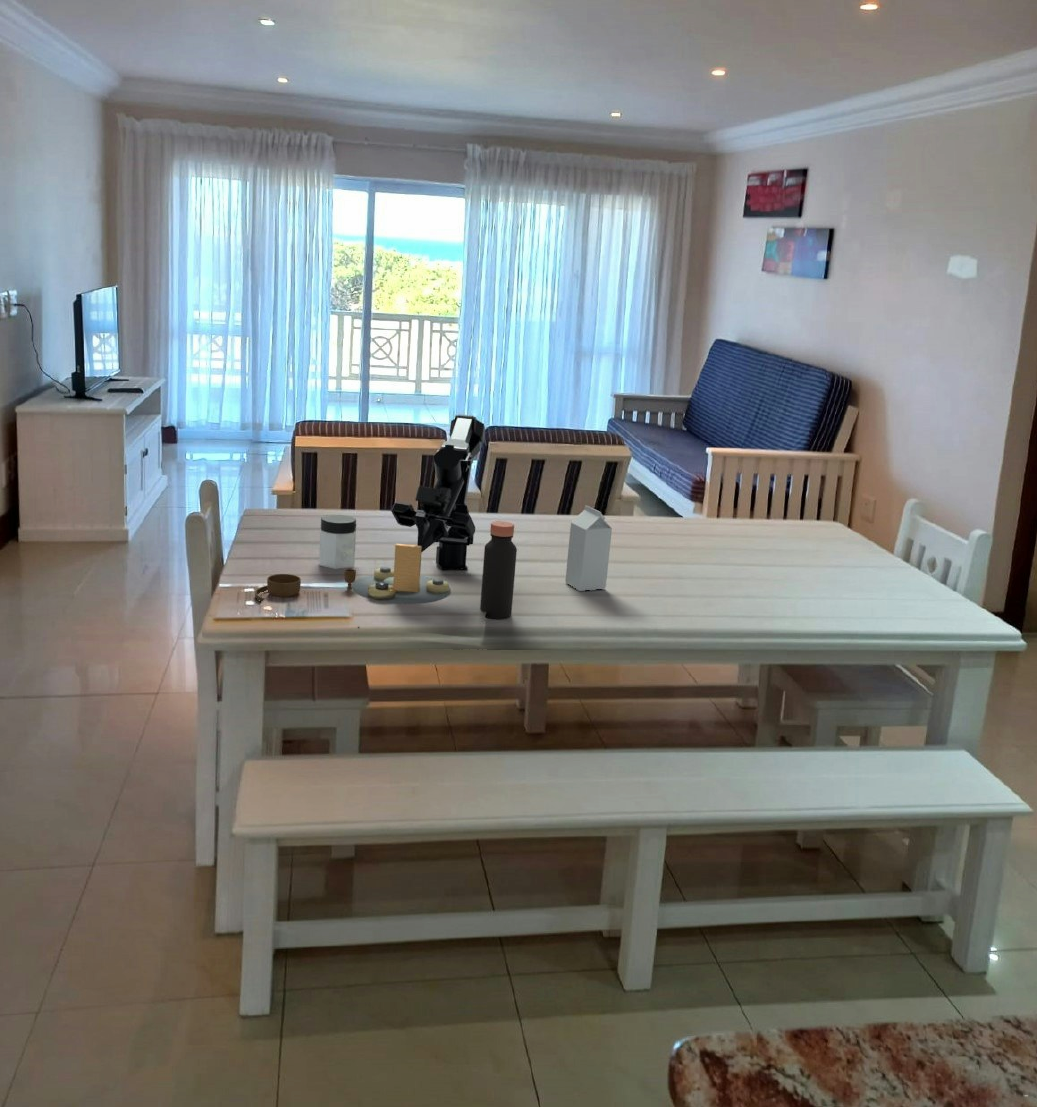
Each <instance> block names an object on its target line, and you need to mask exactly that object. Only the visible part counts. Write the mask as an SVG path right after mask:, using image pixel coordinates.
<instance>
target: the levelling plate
mask: <svg viewBox="0 0 1037 1107" xmlns="http://www.w3.org/2000/svg"><path fill="white" fill-rule="evenodd" d="M393 580H394V568H390V567H387V566H383V567H380V568H376V569H374V573H373V574H372V575H367V576H363V577H361V578H360V577H359V578H358V579H355V581H354V582H353V583H351V584H352V585H351V588H352V589H351V590H352V591H353V592H354V593H355V594H356V595H359V596H360V597H362V598H366V599H369V600H372V601H375V602H382V603H388V604H389V603H390V604H398V605H401V604H403V605H416V604H417V605H419V604H428V603H429V604H430V603H435V602H437V601H442V600H443V599H446V598H448V597H449V596H450V595H451V593H452V590H451V587H450V583H449V582H448V581H445V580H443V579H440V578H439V579H438V578H437V579H436V578H432V577H428V576H425V575H424V576H423V575H420V586H419V592H409V591H399V590H396V596H395V597H394V598H392V599H385V600H381V599H374V598H371V597H369V596H368V595H367V594H368V586H370V585H373V584H376V582H387V583H388V584H389V585H391V586H393Z"/></svg>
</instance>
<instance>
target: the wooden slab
mask: <svg viewBox="0 0 1037 1107" xmlns="http://www.w3.org/2000/svg"><path fill="white" fill-rule="evenodd" d="M422 553H423V552H422V546H417V545H415V544H403V543H395V546H394V561H393V562H394V564H393V565H394V566H393V569H394V580H393V586H391V585H389V584H388V583H387V582H376V584H373V585H370V586H368V594H367V595H368V596H369V597H371V598H374V599H381V600H385V599H392V598H394V597H395V596H396V590H399V591H409V592H419V586H420V576H421V568H422Z"/></svg>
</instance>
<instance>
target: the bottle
mask: <svg viewBox="0 0 1037 1107" xmlns="http://www.w3.org/2000/svg"><path fill="white" fill-rule="evenodd" d="M489 533H490V537H491V538H490V540H489V541H488V542H487V543H486V544H485V545H484V550H483V566H482V578H481V579H482V580H481V592H480V604H479V606H480V607H479V609H480V611H482V612H484V613H485V618H487V619H492V620H504V618H505V619H508V618H510V617H511V615H512V613H513V601H514V600H513V599H514V587H515V578H516V577H515V576H516V575H515V574H516V562H517V553H518V552H517V550H518V548H517V546H516V545H515V544H514V542H513V540H512V539H513V538H514V533H515V524H514V523H512V522H510V521H502V520H497V521H496V520H495V521H492V522H491V523H490V532H489Z"/></svg>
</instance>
